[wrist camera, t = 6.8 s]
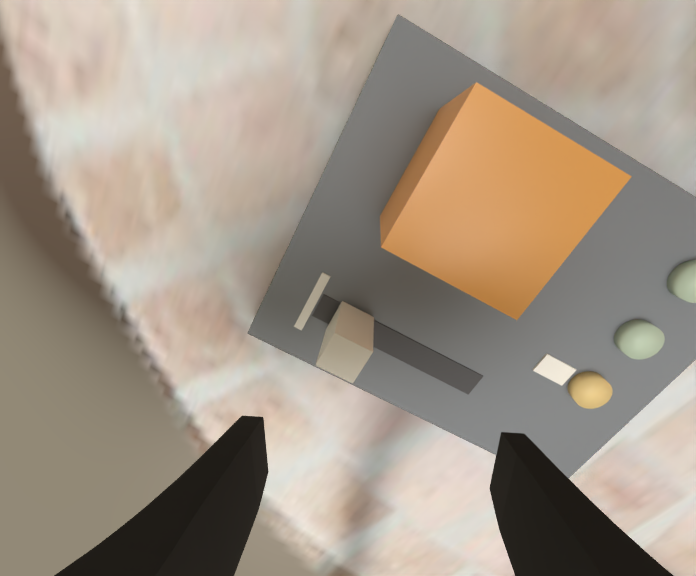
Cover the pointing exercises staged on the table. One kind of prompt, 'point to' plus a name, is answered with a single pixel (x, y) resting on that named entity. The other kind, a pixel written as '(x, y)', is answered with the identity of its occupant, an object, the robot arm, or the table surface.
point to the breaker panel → (472, 314)
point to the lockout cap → (495, 200)
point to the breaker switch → (347, 342)
